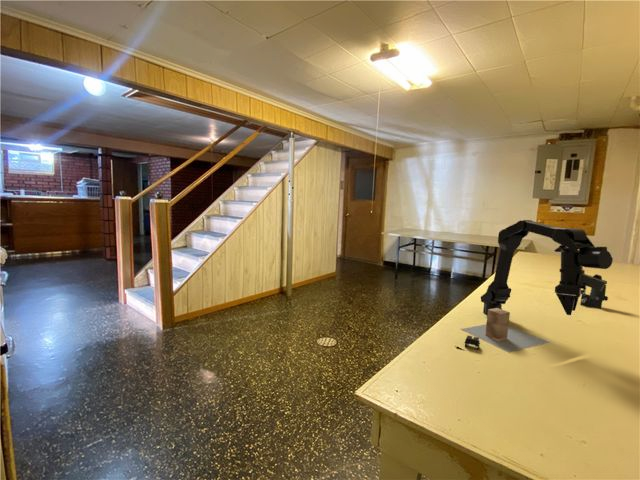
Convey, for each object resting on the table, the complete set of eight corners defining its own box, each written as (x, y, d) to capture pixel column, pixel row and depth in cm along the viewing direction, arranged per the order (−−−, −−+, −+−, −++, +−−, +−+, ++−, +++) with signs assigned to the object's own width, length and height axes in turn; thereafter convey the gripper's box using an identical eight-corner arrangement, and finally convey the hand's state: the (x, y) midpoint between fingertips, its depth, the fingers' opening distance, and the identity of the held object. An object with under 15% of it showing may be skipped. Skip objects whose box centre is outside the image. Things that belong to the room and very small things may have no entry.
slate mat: (460, 331, 121) (460, 329, 121) (498, 323, 130) (498, 321, 130) (509, 354, 103) (509, 352, 103) (549, 344, 112) (550, 342, 112)
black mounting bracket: (492, 351, 106) (494, 339, 106) (491, 360, 100) (492, 347, 99) (453, 342, 113) (454, 330, 112) (450, 350, 106) (451, 337, 106)
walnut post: (485, 335, 116) (487, 309, 115) (494, 333, 118) (497, 307, 117) (497, 340, 112) (500, 314, 110) (507, 338, 114) (509, 312, 112)
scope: (584, 276, 162) (610, 280, 155) (580, 302, 164) (606, 307, 157) (583, 279, 156) (610, 283, 149) (579, 306, 157) (606, 311, 151)
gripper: (601, 269, 92) (601, 322, 92) (606, 266, 105) (605, 312, 105) (554, 267, 100) (554, 315, 100) (564, 264, 113) (563, 307, 113)
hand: (570, 312), depth 104 cm, fingers open, 9 cm apart
